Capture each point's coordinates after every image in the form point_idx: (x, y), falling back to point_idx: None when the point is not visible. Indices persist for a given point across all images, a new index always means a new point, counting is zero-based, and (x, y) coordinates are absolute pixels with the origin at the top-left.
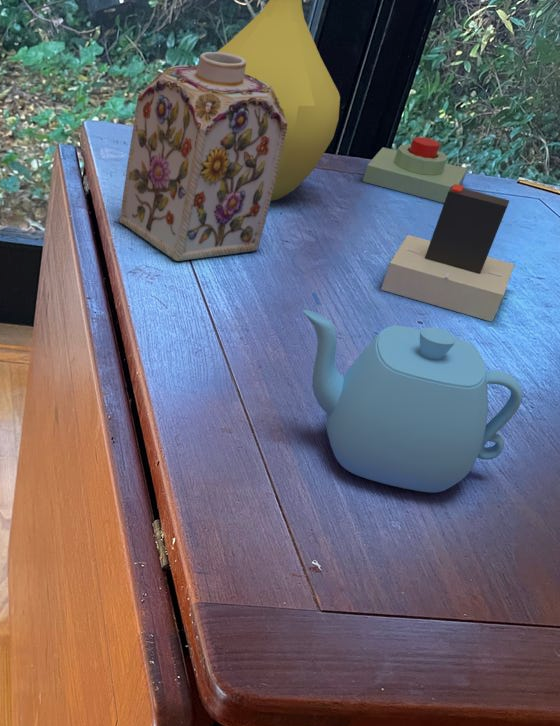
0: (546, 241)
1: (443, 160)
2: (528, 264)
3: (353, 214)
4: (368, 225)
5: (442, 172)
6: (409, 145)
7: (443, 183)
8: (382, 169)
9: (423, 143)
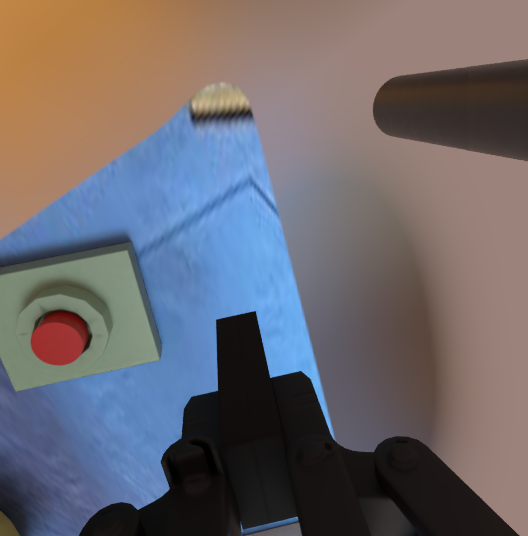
0: (309, 354)
1: (106, 339)
2: None
3: (95, 485)
4: (127, 497)
5: (109, 312)
6: (24, 321)
7: (137, 361)
8: (41, 385)
9: (60, 361)
